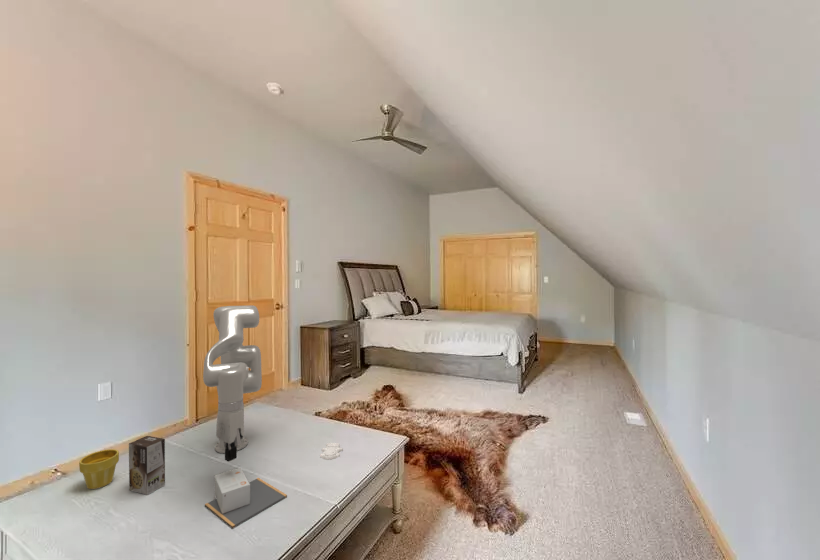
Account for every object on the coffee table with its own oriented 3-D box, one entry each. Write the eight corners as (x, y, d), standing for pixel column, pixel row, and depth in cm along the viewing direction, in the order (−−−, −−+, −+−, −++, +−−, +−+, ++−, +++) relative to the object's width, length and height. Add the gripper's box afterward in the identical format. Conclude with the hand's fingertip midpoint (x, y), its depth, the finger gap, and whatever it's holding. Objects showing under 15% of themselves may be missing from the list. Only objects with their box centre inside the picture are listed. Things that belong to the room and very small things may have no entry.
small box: (214, 494, 115) (221, 514, 105) (214, 474, 115) (221, 493, 105) (240, 485, 120) (250, 504, 110) (240, 466, 120) (250, 484, 110)
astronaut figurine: (345, 446, 150) (345, 439, 150) (337, 461, 138) (337, 453, 138) (325, 446, 150) (325, 439, 150) (316, 460, 138) (316, 452, 138)
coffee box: (166, 484, 121) (166, 438, 121) (146, 495, 115) (146, 447, 115) (147, 479, 124) (147, 434, 124) (128, 490, 118) (127, 442, 118)
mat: (204, 506, 110) (204, 503, 110) (258, 479, 124) (258, 477, 124) (232, 528, 100) (232, 526, 100) (287, 497, 114) (287, 494, 114)
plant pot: (73, 496, 115) (73, 466, 115) (86, 479, 124) (86, 452, 124) (113, 488, 119) (113, 459, 119) (123, 473, 129) (122, 446, 129)
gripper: (208, 403, 119) (208, 457, 119) (231, 413, 110) (231, 471, 110) (230, 397, 125) (230, 448, 125) (253, 406, 117) (253, 461, 117)
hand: (230, 459), depth 118 cm, fingers closed
